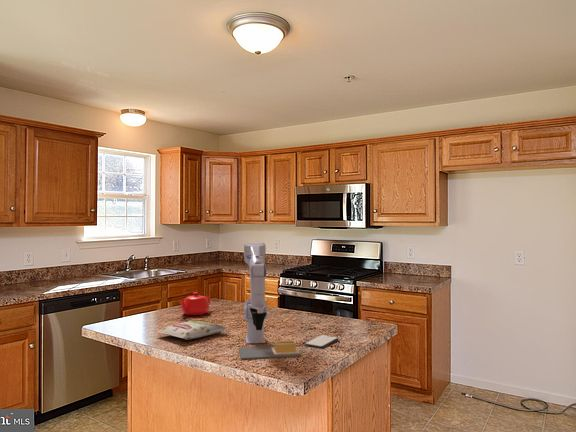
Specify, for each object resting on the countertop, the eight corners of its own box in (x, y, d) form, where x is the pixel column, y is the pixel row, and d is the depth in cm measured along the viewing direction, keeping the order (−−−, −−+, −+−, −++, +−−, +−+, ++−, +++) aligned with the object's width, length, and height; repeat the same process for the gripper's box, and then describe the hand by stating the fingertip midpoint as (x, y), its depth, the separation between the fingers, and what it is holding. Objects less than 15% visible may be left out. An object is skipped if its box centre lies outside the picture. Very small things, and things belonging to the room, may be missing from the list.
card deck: (293, 347, 171) (293, 340, 171) (295, 351, 166) (295, 343, 166) (273, 348, 169) (273, 341, 169) (275, 352, 164) (275, 344, 165)
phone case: (322, 350, 171) (339, 340, 185) (322, 346, 171) (339, 337, 185) (303, 347, 176) (321, 337, 190) (303, 343, 176) (321, 334, 190)
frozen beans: (228, 321, 194) (183, 331, 175) (229, 333, 194) (183, 345, 175) (201, 316, 208) (155, 325, 189) (201, 327, 208) (156, 338, 189)
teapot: (199, 309, 251) (199, 288, 251) (219, 311, 243) (219, 290, 243) (167, 316, 230) (168, 294, 230) (188, 320, 222) (188, 297, 222)
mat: (238, 348, 171) (238, 347, 171) (293, 346, 175) (293, 344, 175) (240, 359, 157) (240, 358, 157) (301, 356, 162) (301, 354, 162)
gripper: (245, 291, 176) (245, 323, 176) (250, 297, 162) (249, 332, 161) (262, 290, 177) (262, 322, 177) (268, 296, 163) (268, 331, 163)
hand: (257, 327), depth 169 cm, fingers open, 7 cm apart
